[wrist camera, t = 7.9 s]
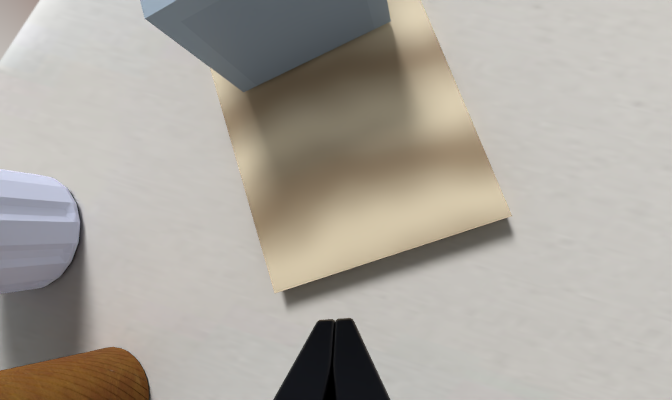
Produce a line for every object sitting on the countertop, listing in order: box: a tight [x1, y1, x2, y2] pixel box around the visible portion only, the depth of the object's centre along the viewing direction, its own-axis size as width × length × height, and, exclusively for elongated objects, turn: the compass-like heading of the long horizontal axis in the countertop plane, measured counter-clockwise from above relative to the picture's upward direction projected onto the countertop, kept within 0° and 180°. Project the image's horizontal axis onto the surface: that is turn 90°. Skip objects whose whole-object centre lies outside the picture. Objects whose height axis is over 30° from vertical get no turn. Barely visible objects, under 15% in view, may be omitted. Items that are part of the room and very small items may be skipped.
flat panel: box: [210, 0, 512, 293], centre depth 20 cm, size 22×14×5 cm, turn 19°
